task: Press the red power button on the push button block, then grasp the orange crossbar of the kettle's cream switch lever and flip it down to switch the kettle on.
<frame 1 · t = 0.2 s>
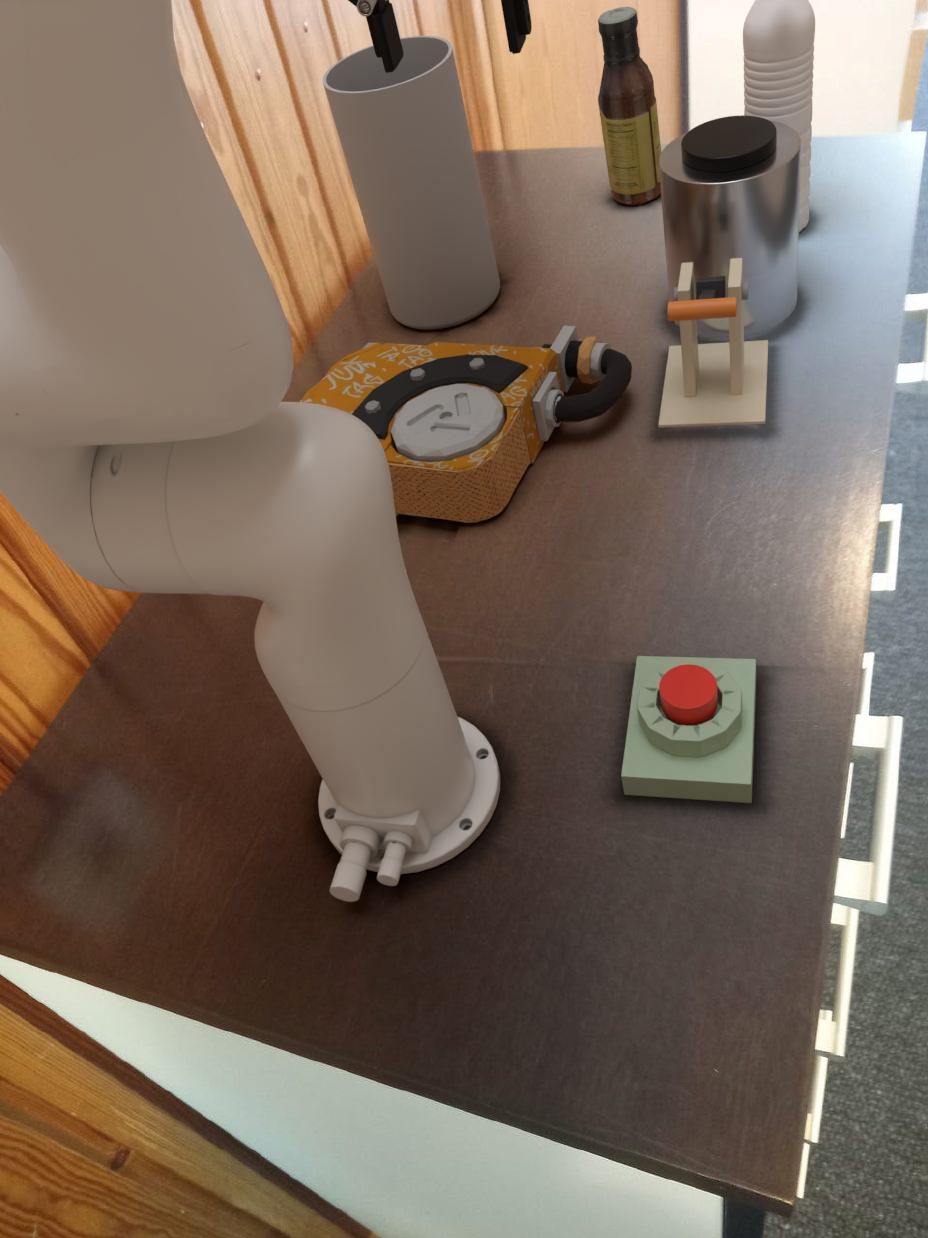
hand: (455, 55, 77), 31 cm above the table, tool pointing down, fingers open, 9 cm apart
push button block: (692, 735, 69), on the table
kettle: (732, 311, 101), on the table
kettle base: (715, 392, 93), on the table
kettle switch: (707, 300, 82), point 12 cm above the table, hinge at 25.0°
device: (456, 451, 96), on the table
sauce bottle: (637, 196, 121), on the table
cylinder vase: (446, 302, 114), on the table
water bottle: (777, 231, 110), on the table
power button: (688, 694, 66), point 4 cm above the table, slide at 0.1 cm
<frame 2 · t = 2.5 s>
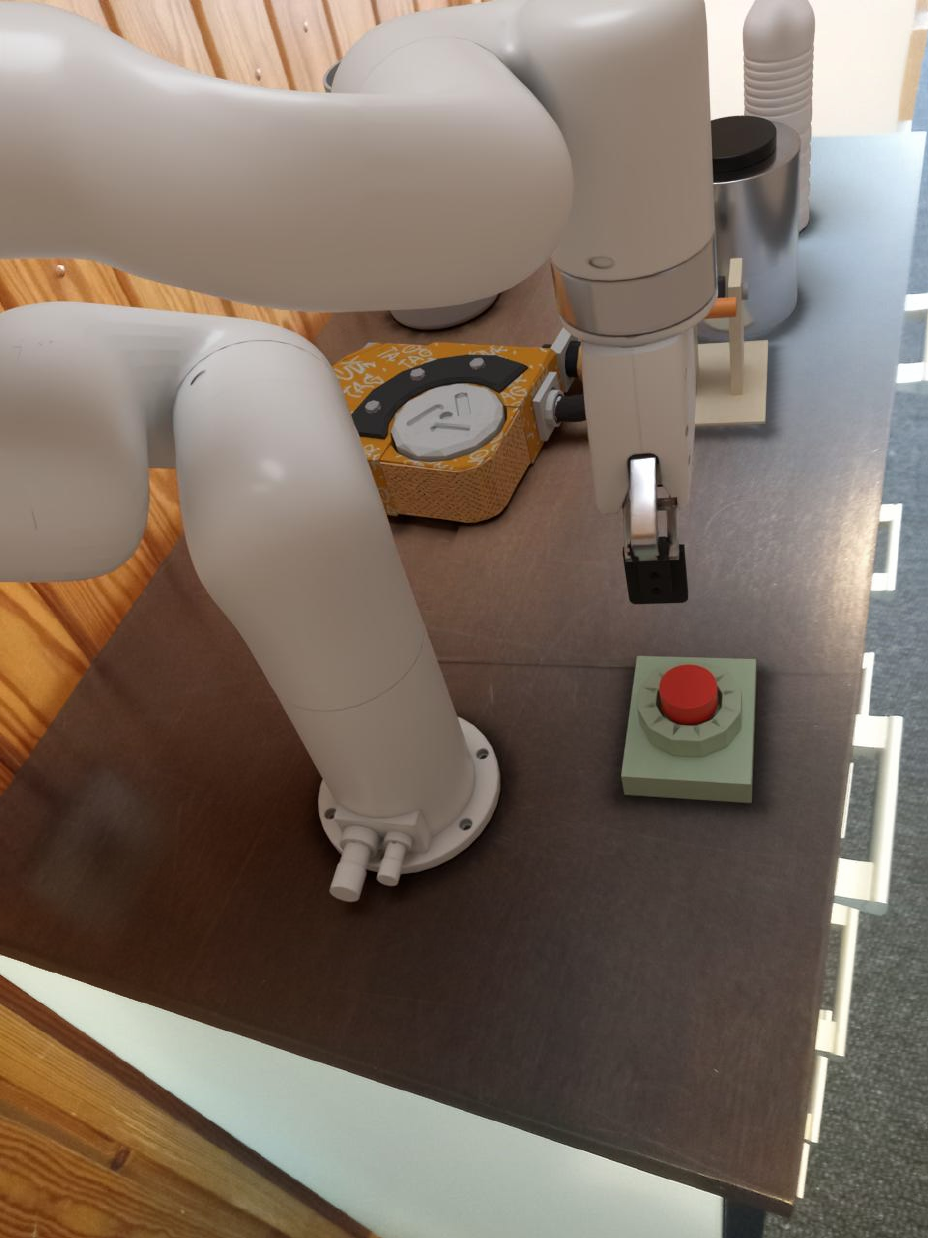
hand: (661, 538, 60), 15 cm above the table, tool pointing down, fingers open, 9 cm apart
nothing on the table moved.
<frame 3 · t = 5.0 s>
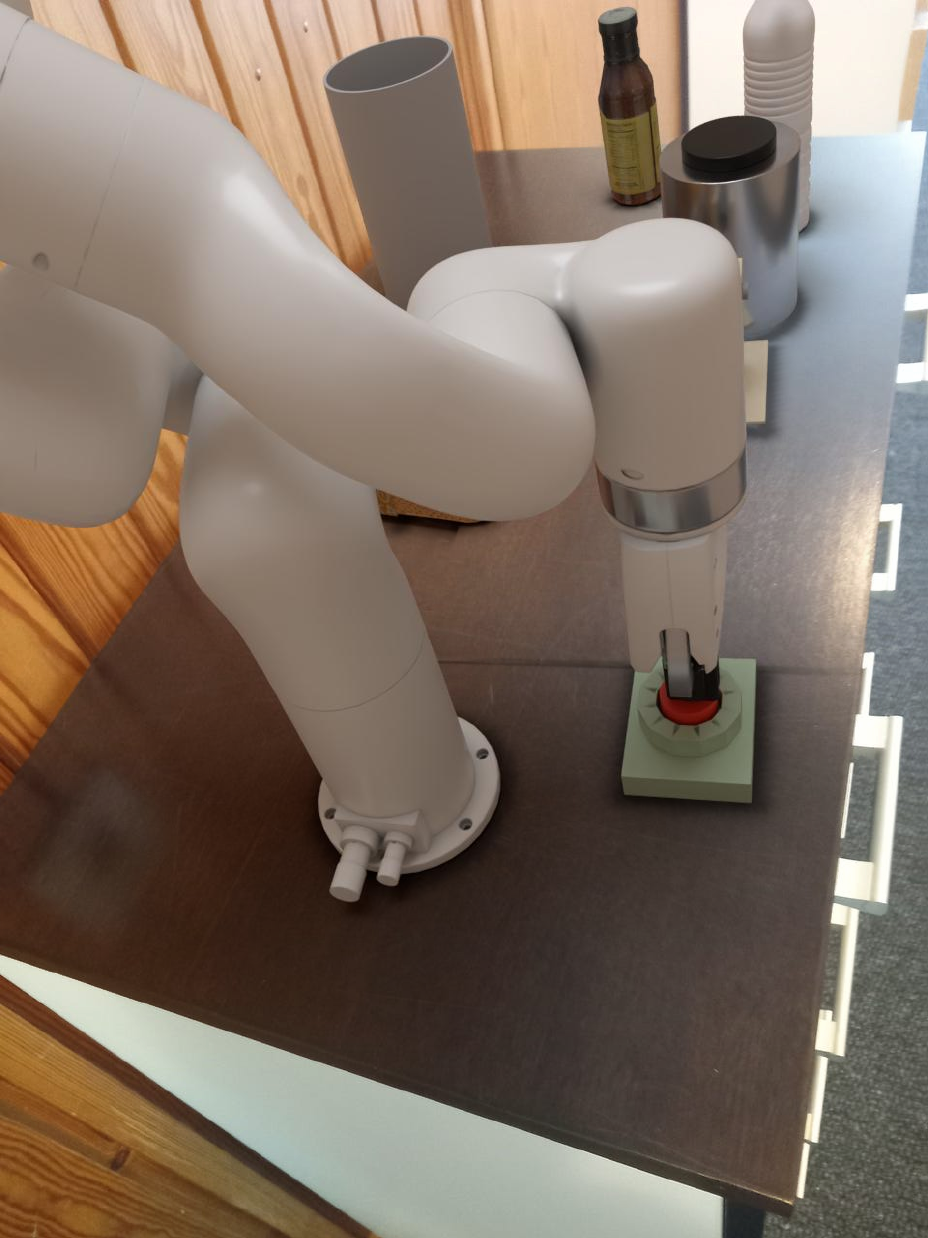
hand: (693, 690, 66), 5 cm above the table, tool pointing down, fingers closed
power button: (689, 700, 66), point 4 cm above the table, slide at -0.5 cm, touching gripper
everything else where it was.
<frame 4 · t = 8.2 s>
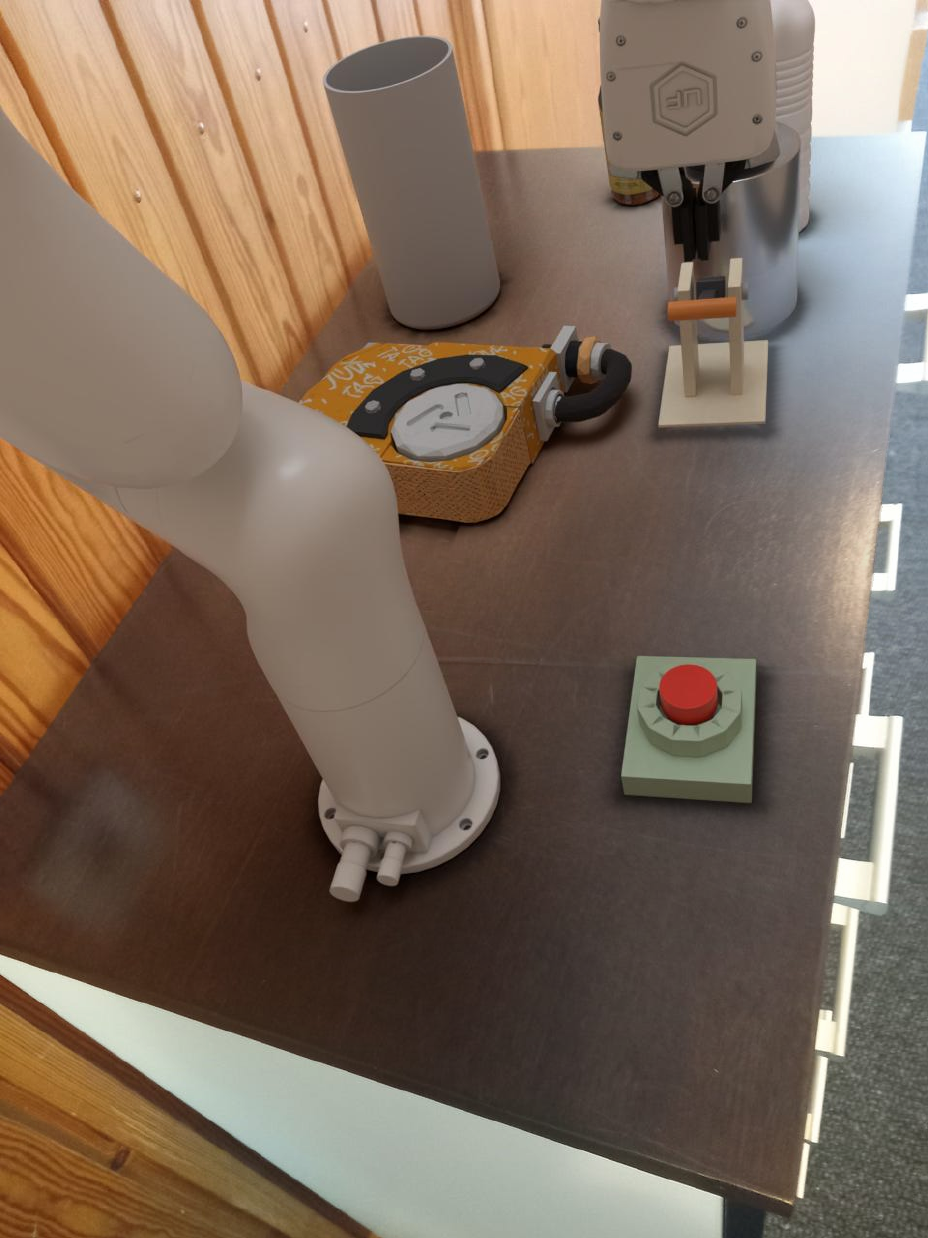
hand: (698, 250, 70), 21 cm above the table, tool pointing down, fingers closed
power button: (688, 694, 66), point 4 cm above the table, slide at 0.1 cm
everything else where it was.
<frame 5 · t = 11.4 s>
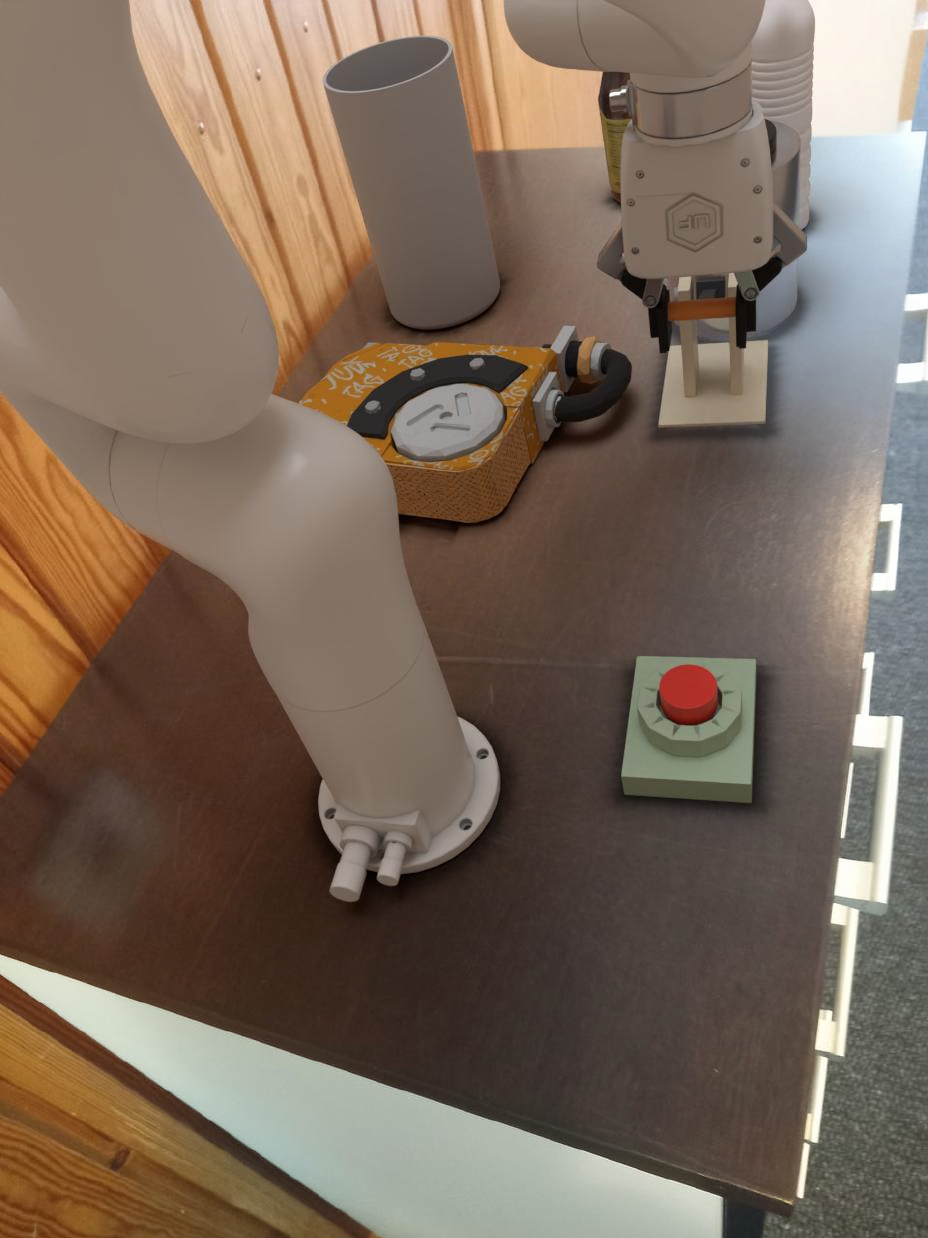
hand: (703, 338, 79), 12 cm above the table, tool pointing down, fingers closed on kettle switch, 5 cm apart
kettle switch: (707, 300, 82), point 12 cm above the table, hinge at 25.0°, touching gripper
everything else where it was.
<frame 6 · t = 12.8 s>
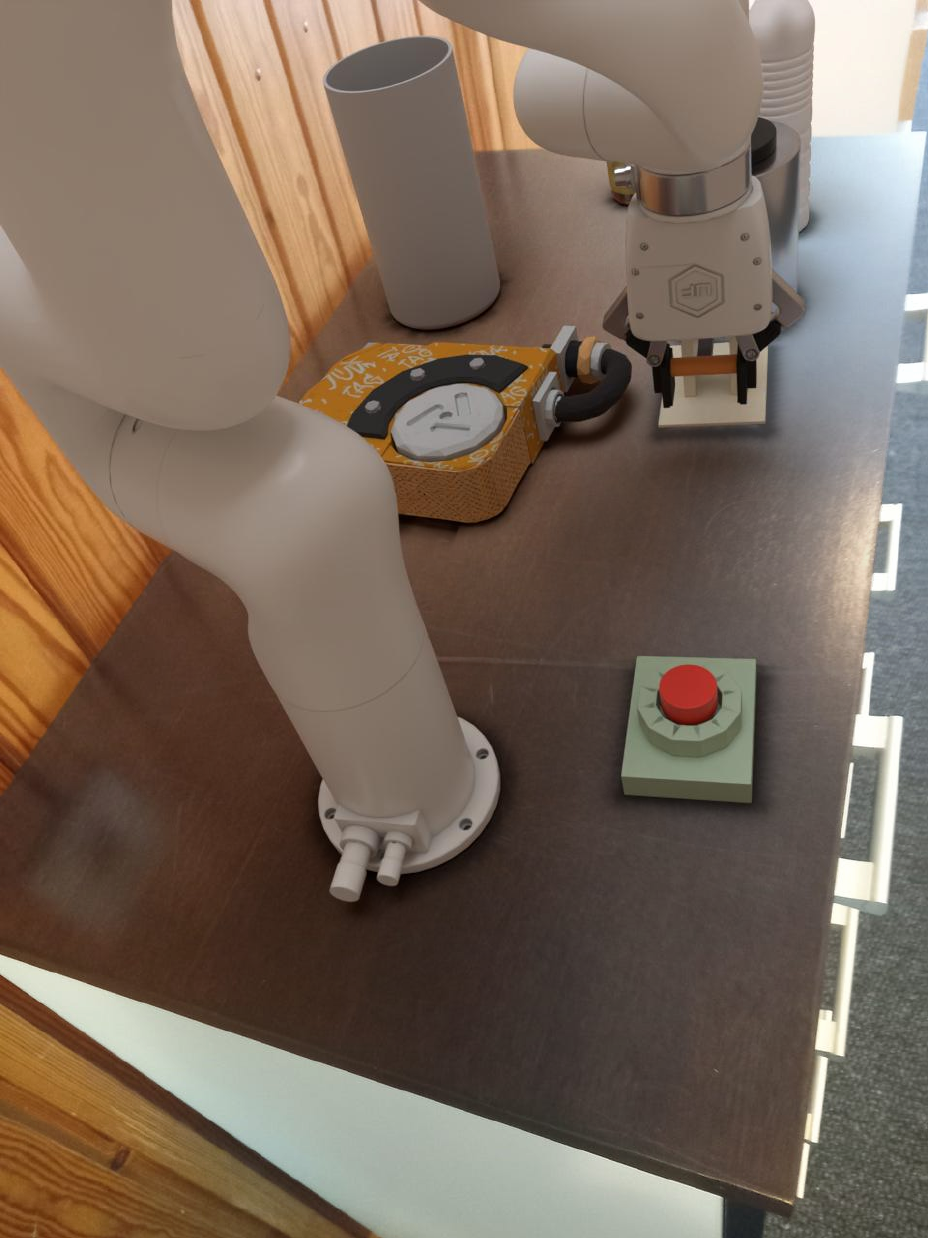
hand: (705, 393, 82), 7 cm above the table, tool pointing down, fingers closed on kettle switch, 5 cm apart
kettle switch: (707, 325, 83), point 10 cm above the table, hinge at -0.8°, touching gripper
everything else where it was.
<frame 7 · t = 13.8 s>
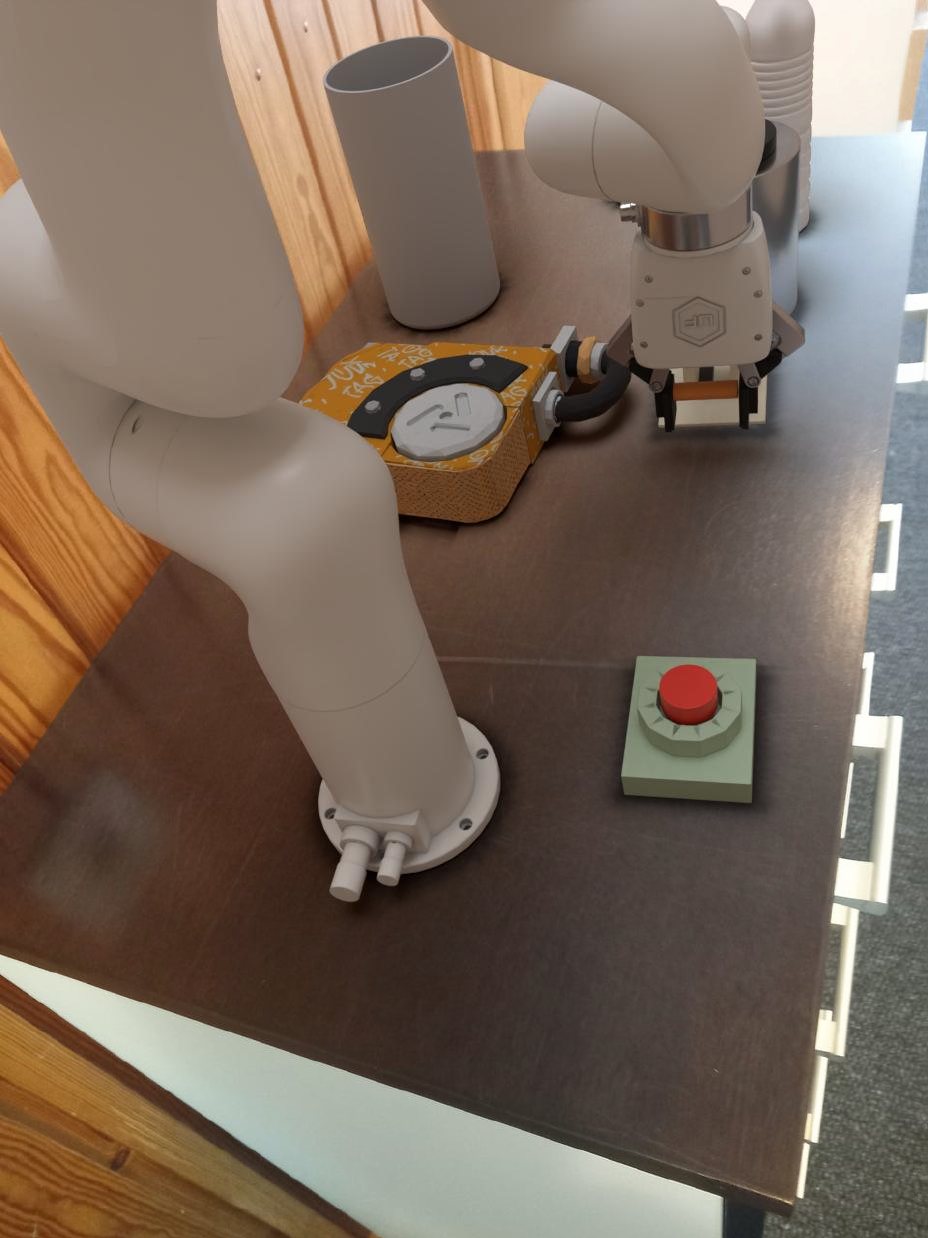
hand: (707, 418, 85), 4 cm above the table, tool pointing down, fingers open, 5 cm apart
kettle switch: (708, 337, 84), point 9 cm above the table, hinge at -16.1°
everything else where it was.
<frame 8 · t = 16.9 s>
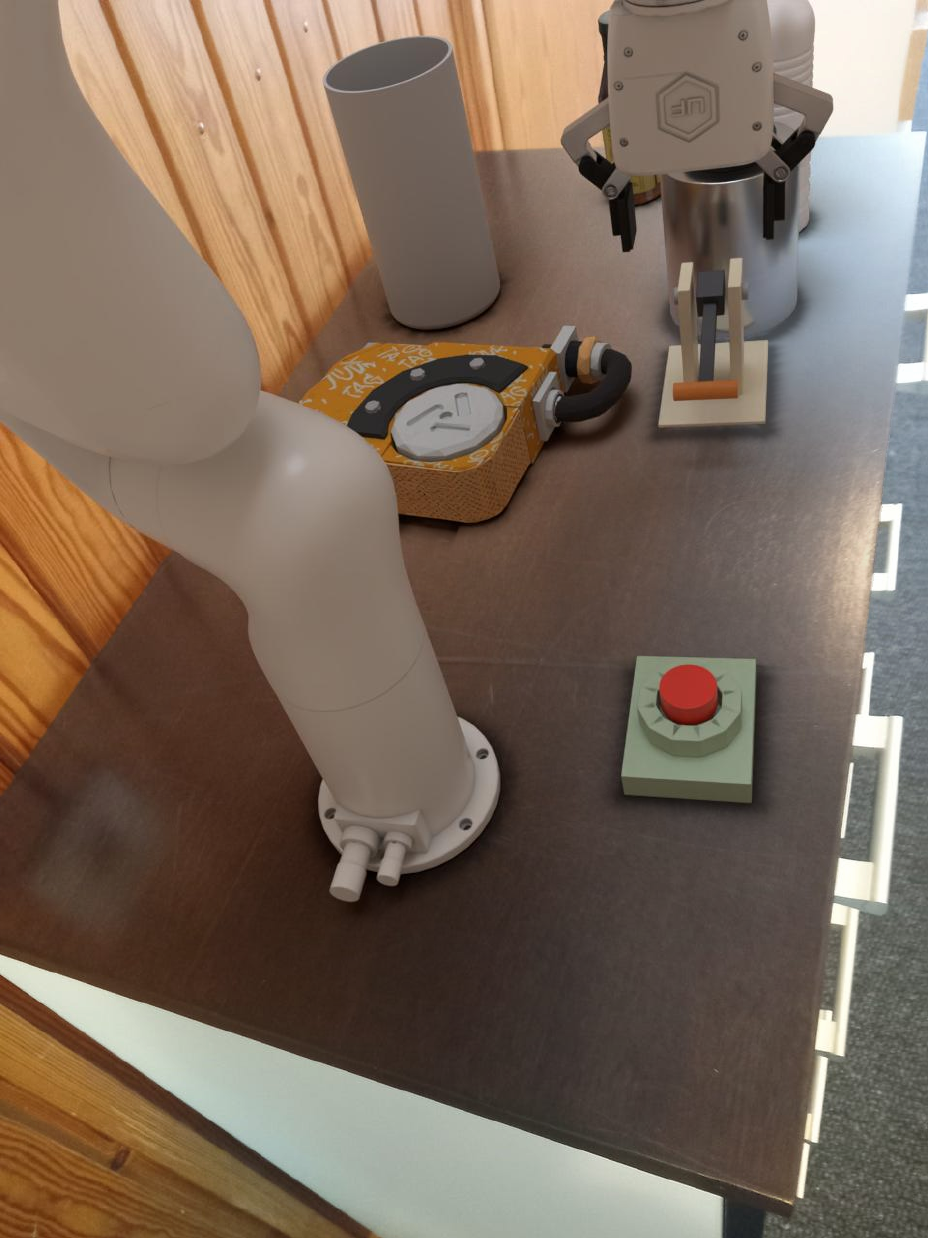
hand: (698, 236, 73), 20 cm above the table, tool pointing down, fingers open, 9 cm apart
nothing on the table moved.
at the end: power button pushed in 1.0 cm at the most during the clip, back to where it started at the end; power button slide at 0.1 cm; kettle switch at -16° (first picture: +25°) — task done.
